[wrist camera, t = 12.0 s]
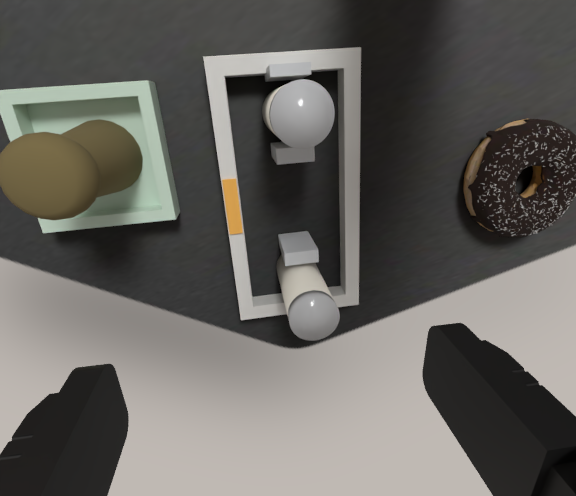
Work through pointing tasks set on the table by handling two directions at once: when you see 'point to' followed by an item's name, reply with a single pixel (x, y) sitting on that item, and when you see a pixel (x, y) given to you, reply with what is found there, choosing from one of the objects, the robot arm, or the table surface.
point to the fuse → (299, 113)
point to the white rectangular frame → (295, 244)
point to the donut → (506, 168)
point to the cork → (69, 168)
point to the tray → (111, 107)
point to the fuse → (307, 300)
